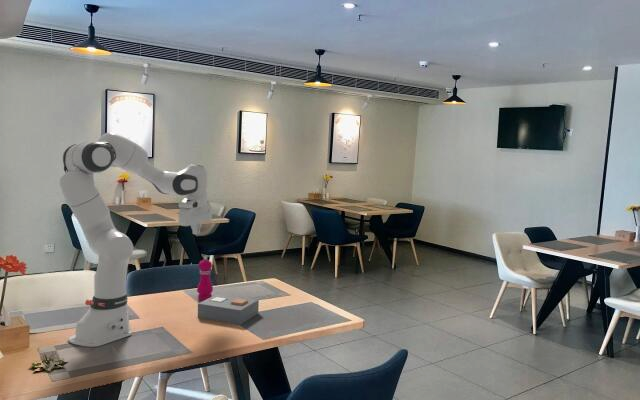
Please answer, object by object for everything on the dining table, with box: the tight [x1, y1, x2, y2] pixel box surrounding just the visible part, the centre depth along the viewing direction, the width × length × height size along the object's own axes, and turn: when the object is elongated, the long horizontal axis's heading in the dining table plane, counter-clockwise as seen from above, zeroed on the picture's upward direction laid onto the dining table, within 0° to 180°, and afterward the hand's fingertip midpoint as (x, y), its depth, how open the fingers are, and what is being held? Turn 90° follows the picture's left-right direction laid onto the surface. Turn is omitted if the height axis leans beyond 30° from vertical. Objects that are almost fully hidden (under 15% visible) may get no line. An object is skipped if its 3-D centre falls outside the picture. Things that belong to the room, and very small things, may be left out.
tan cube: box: [231, 299, 248, 306], centre depth 215 cm, size 5×5×5 cm
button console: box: [197, 293, 260, 325], centre depth 217 cm, size 16×20×6 cm
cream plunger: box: [210, 297, 227, 303], centre depth 219 cm, size 5×5×5 cm
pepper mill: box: [196, 256, 214, 301], centre depth 239 cm, size 7×7×20 cm
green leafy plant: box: [30, 350, 65, 371], centre depth 163 cm, size 12×12×5 cm
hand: (196, 233), depth 222 cm, fingers closed
